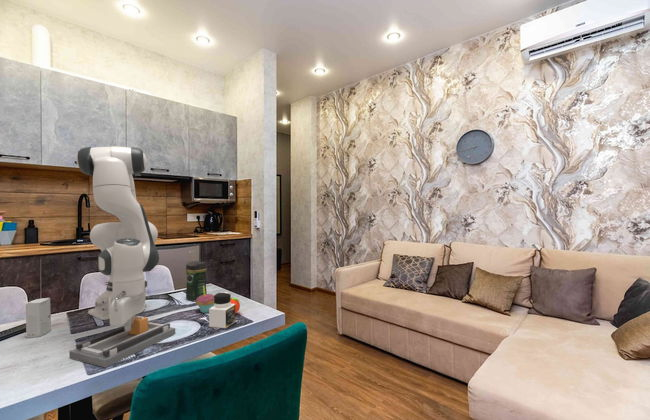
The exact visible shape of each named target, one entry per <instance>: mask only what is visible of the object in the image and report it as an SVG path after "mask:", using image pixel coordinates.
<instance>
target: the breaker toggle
mask: <svg viewBox="0 0 650 420" xmlns="http://www.w3.org/2000/svg"><path fill="white" fill-rule="evenodd" d="M148 322H149V318H148V317H147V316H142V315H141V316H140V315H135V318H134V322H133V328H132V329H131V330H130V331H129V334H134V335H139V334H141V333H143V332H146V331H148Z"/></svg>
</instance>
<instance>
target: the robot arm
mask: <svg viewBox="0 0 650 420" xmlns="http://www.w3.org/2000/svg"><path fill="white" fill-rule="evenodd" d="M75 159H76V165H77V167H78V169H79V171H80V172H81V173H82V174H85V175H87V176H90V177H92V193H93V198H94V199H93V200H94V202H95V204H96V205H97V207H99V208H100V209H101V210H102V211H105V212H106V213H109V214H111V215H113V216H115V217H117V218H118V220H119V221H115V222H114V221H110V222H109V221H108V222H103V223H99V224H98V223H97V224H95V225H94V226H93V227H92V229H91V230H90V233H89V239H90V241H91V243H92V244H93V246H95V247H97V248H98V249H99V250H100V251H101V252H100V253H99V254H98V255H97V270H98V272H99V273H101V274H103V275H105V276H108V277H109V279H108V280H109V281H107V282H105V286H106V290H105V291H104V292H102V293H101V294H100V295H99V296H98V297H97V298H96V299H95V301H94V308H92V309H90V310H89V311H87V314H88V315H90V316H92V317H95V318H97V319H99V320H101V321H106V320H109V325H110V327H124V326H125V331H130V330H131V329H132V328H133V322H134V318H135V316H137V315H138V314H141V313H142V312H144V311H145V308H146V307H147V303H146V299H147V298H146V295H147V294H146V293H147V289H146V288H147V287H148V281H147V280H145V275H144V273H146V272H151V271H153V270H154V269H155V267H156V266H157V265H158V264H159V261H160V256H159V255H160V253H159V252H158V249H157V247H156V244H155V242H156V241H157V240H158V236H159V235H158V234H159V232H158V229H157V227H156V226H155V224H154V223H152V222H150V221H149V220H148V217H147V214H146V210H145V209H144V206H143V205H142V203H140V202H138V200H137V196H136V187H135V180H134V177H137V176H138V175H140V174H142V173H143V172H145V171H146V168H147V164H148V161H147V156H146V154H145V153H144V151H143V150H142V148H140V147H133V146H131V147H127V146H118V145H117V146H116V145H111V146H96V147H95V146H94V147H91V146H87V147H82V148H80V149H79V150H78V151H77V155H76V158H75Z"/></svg>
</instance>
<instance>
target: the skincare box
mask: <svg viewBox="0 0 650 420" xmlns="http://www.w3.org/2000/svg"><path fill="white" fill-rule="evenodd" d="M51 312H52V311H51V297H45V298H44V297H43V298H36V299H34V300H31V301H29V302H26V303H25V327H26V328H25V330H26V332H25V333H26V336H25V337H26V338H29V339H30V338H40V337H42V336H43V335H45V334H47V333H49V332H50V331H51V330H52V322H51V321H52V316H51V315H52V314H51Z"/></svg>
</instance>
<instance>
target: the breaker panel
mask: <svg viewBox="0 0 650 420" xmlns="http://www.w3.org/2000/svg"><path fill="white" fill-rule="evenodd" d="M163 325H164V324H162V323H155V322H151V321H148V331H146V332H143V333H141V334H139V335H134V334H129V331H124V332H121V333H119V334H116V335H114V336H111V337H109V338H106V339H104V340H101V341H99V342H96V343H94V344H91V345H90V342H87V343H85V344H82V348H81V349H76V348H74V349H72V350H69V356H68V357H69V359H73V360H75V361H80V362H83V363H87V364H90V365H94V366H98V367H102V368H107V367H110V366H112V365H114V364H115V363H116V364H117V363H118V362H119V361H122V360H124V359H126V358H129V357H130V355H131V356H133V355H135V354H137V353H139V352H140V351H143V350H145V349H148V348H149V347H151V346H153V345H155V344H157V343H160V342H161V341H163V340H165V339H167V338H170V337H172V336H174V335H175V334H176V328H175V327H171V326H170V328H168V325H167V326H165V327H163V331H161V332H159V333H156V334H154V335H152V336H150V337H148V338H145V339H143V340H141V341H139V342H136V343H134V344H132V345H130V346H128V347H125V348H123V349H121V350H119V351H117V348H115V349H113V350H110V351H109V355H108V356H103V351H105V350H107V349H110V348H112V347H114V346H117V345H119V344H121V343H124V342H126V341H128V340H131V339H133V338H135V337H138V336H140V335H142V334H144V333H147V332H149V331H151V330H154V329H156V328H158V327H161V326H163ZM85 341H86V340H85ZM85 341H83V342H85ZM80 343H81V342H79V343H78V344H80ZM128 356H129V357H128ZM123 358H124V359H123ZM121 359H122V360H121ZM113 363H114V364H113ZM111 364H112V365H111ZM109 365H110V366H109Z"/></svg>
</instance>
